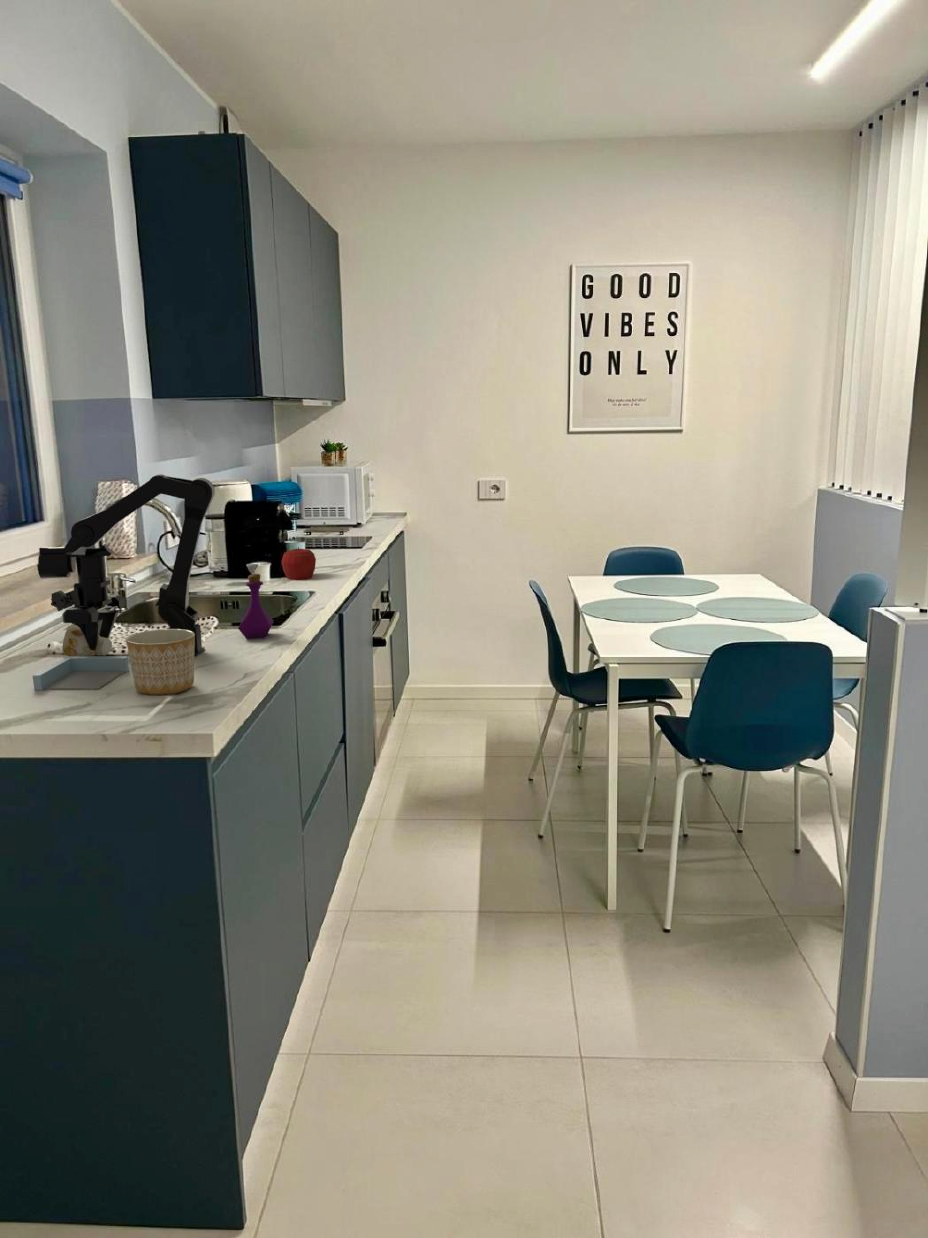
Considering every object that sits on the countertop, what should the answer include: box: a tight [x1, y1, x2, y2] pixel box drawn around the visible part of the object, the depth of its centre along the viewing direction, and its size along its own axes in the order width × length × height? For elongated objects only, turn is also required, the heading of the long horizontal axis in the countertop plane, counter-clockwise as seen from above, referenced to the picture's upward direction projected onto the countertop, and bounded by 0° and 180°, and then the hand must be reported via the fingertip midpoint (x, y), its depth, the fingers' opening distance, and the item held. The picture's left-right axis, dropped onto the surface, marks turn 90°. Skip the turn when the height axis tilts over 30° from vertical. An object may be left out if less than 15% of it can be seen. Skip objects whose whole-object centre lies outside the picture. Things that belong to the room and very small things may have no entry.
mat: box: [45, 671, 125, 691], centre depth 188 cm, size 11×12×1 cm
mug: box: [61, 624, 114, 657], centre depth 205 cm, size 8×10×10 cm
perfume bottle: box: [237, 563, 274, 640], centre depth 221 cm, size 8×8×18 cm
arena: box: [32, 656, 130, 691], centre depth 189 cm, size 13×14×3 cm
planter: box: [125, 628, 195, 696], centre depth 182 cm, size 13×13×10 cm
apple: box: [281, 546, 317, 581], centre depth 295 cm, size 11×11×12 cm
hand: (98, 646), depth 206 cm, fingers closed on mug, 5 cm apart
